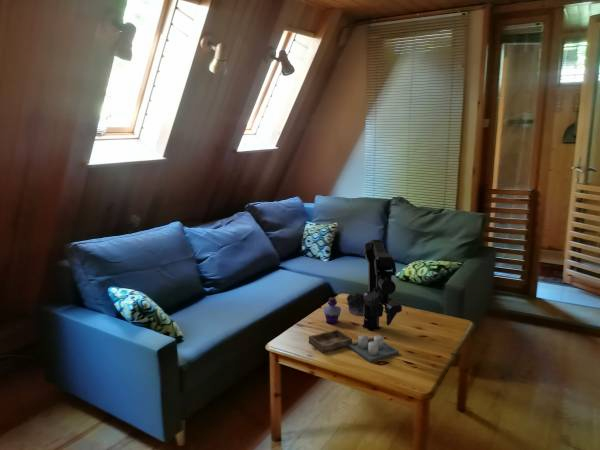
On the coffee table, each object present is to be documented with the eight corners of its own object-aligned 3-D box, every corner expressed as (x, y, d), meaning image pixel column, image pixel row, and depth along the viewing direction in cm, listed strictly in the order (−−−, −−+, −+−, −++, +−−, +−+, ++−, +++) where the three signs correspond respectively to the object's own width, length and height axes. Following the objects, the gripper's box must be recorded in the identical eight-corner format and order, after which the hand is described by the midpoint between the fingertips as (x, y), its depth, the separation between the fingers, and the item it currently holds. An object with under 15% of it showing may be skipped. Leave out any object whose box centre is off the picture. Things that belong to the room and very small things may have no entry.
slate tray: (375, 339, 204) (375, 336, 203) (398, 354, 191) (398, 350, 191) (347, 347, 196) (347, 344, 196) (369, 362, 184) (370, 359, 183)
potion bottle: (333, 317, 227) (334, 293, 225) (344, 323, 220) (345, 299, 218) (319, 320, 223) (319, 297, 221) (329, 327, 216) (330, 303, 213)
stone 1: (361, 343, 198) (361, 334, 197) (369, 346, 195) (369, 336, 194) (355, 347, 195) (356, 337, 194) (363, 350, 192) (364, 340, 191)
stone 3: (379, 344, 198) (379, 334, 197) (385, 348, 194) (385, 338, 193) (371, 346, 196) (372, 336, 195) (377, 350, 192) (378, 340, 191)
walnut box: (337, 335, 207) (337, 329, 207) (351, 345, 198) (352, 338, 197) (308, 342, 200) (308, 336, 199) (322, 353, 191) (322, 346, 190)
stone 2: (375, 351, 192) (375, 341, 191) (379, 355, 188) (379, 345, 187) (366, 352, 191) (366, 342, 190) (370, 356, 187) (370, 346, 186)
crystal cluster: (378, 312, 236) (379, 293, 235) (363, 317, 226) (363, 298, 225) (357, 307, 245) (357, 289, 244) (341, 312, 235) (342, 293, 234)
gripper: (353, 282, 195) (352, 316, 198) (381, 296, 179) (379, 333, 182) (375, 278, 200) (373, 312, 203) (403, 291, 184) (401, 328, 187)
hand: (381, 321), depth 194 cm, fingers open, 9 cm apart
